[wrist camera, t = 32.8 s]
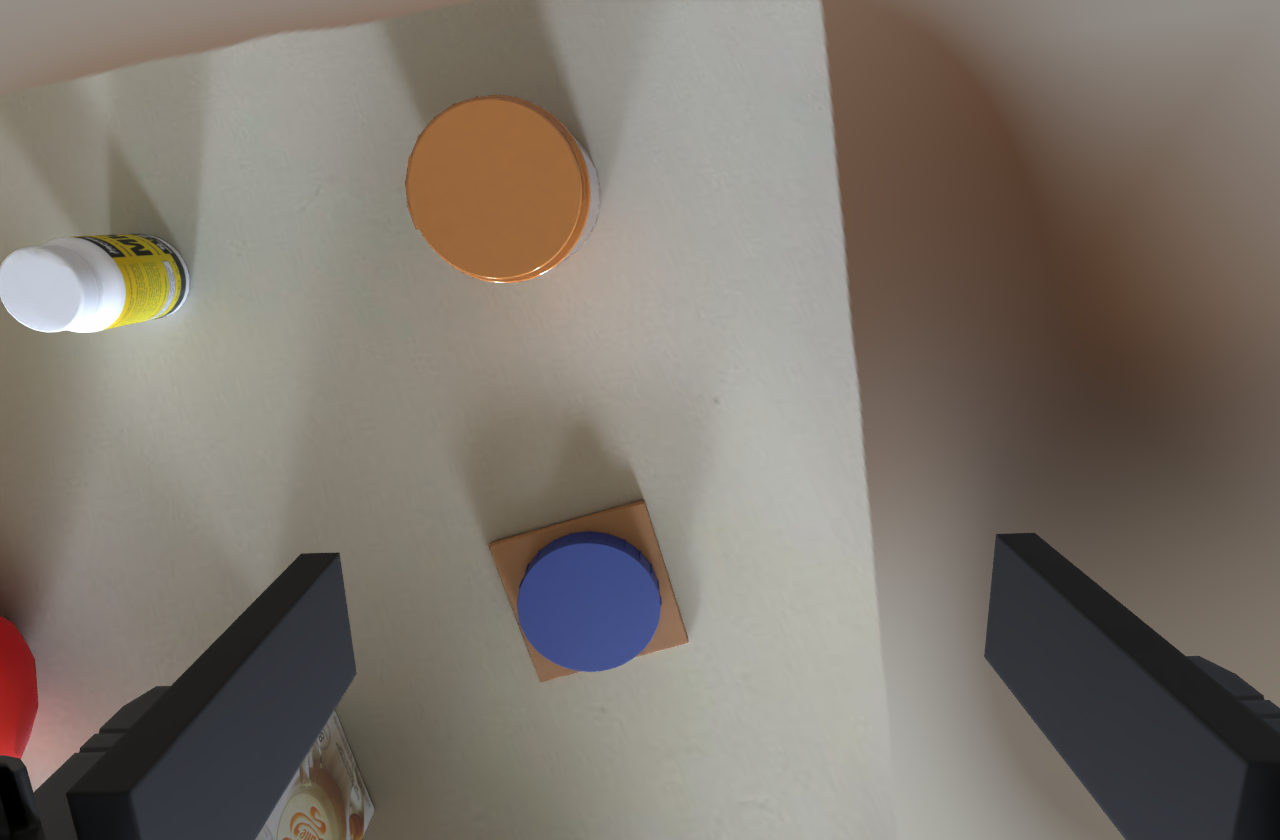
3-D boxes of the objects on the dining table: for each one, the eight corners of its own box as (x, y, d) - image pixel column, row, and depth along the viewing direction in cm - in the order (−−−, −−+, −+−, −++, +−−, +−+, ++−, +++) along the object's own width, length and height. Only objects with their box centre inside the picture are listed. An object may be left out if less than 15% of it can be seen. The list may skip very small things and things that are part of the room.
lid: (532, 664, 50) (529, 680, 48) (509, 539, 48) (504, 551, 46) (668, 649, 50) (669, 664, 48) (651, 522, 47) (651, 533, 46)
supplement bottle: (191, 238, 44) (89, 245, 36) (193, 322, 45) (95, 346, 37) (104, 228, 43) (-19, 232, 35) (109, 312, 45) (-8, 335, 37)
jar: (575, 99, 42) (554, 63, 32) (618, 245, 44) (612, 255, 34) (435, 143, 42) (371, 123, 32) (484, 286, 44) (438, 308, 34)
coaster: (643, 499, 48) (644, 502, 47) (688, 638, 50) (688, 643, 50) (490, 542, 48) (488, 546, 48) (541, 677, 51) (540, 682, 50)
